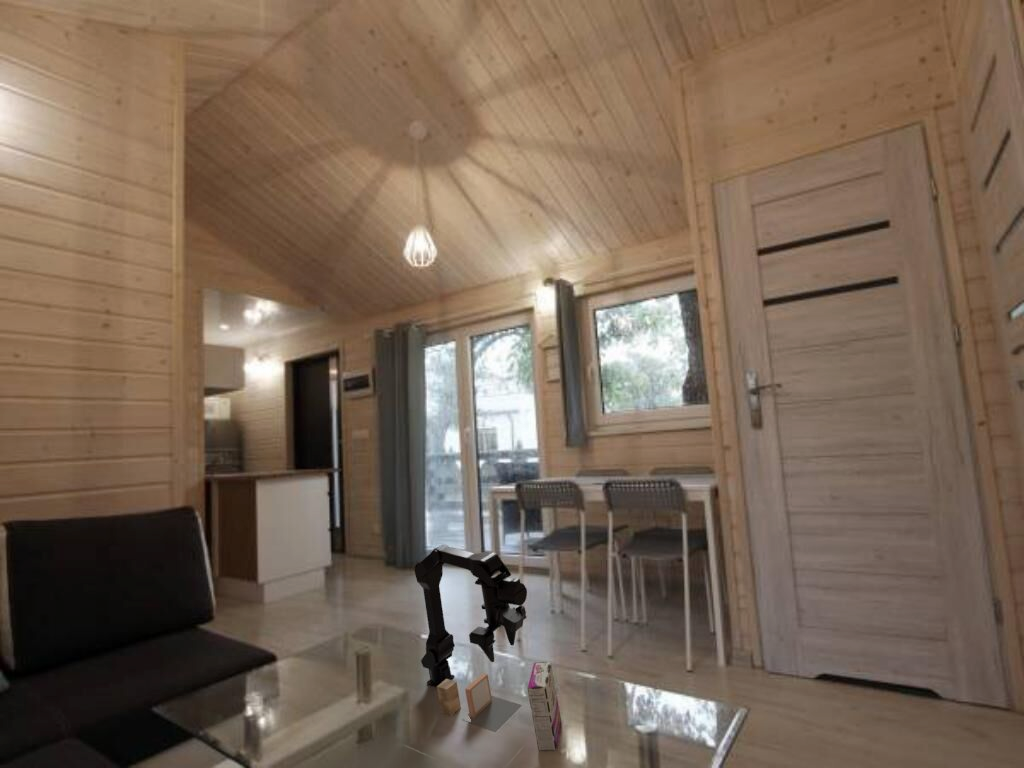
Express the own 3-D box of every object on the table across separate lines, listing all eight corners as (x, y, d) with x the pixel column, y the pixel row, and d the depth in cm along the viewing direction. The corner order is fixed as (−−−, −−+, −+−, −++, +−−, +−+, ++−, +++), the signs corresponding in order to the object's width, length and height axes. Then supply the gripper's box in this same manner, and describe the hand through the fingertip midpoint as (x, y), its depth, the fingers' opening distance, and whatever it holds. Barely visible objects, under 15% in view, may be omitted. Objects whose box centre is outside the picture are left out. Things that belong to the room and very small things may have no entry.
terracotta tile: (469, 716, 153) (465, 688, 153) (487, 699, 159) (483, 673, 159) (474, 718, 152) (469, 690, 152) (492, 701, 158) (487, 674, 158)
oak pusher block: (441, 713, 157) (436, 686, 157) (451, 705, 160) (446, 678, 160) (451, 717, 155) (446, 689, 154) (461, 708, 158) (456, 681, 157)
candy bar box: (543, 721, 146) (533, 661, 146) (561, 721, 145) (551, 660, 145) (537, 751, 135) (526, 687, 135) (557, 751, 134) (546, 686, 134)
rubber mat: (462, 720, 152) (461, 719, 152) (489, 695, 162) (489, 694, 162) (495, 732, 145) (495, 731, 145) (521, 706, 154) (521, 704, 154)
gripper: (495, 619, 143) (504, 677, 144) (535, 589, 158) (544, 641, 159) (463, 613, 150) (473, 668, 151) (505, 584, 165) (513, 635, 165)
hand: (502, 653), depth 156 cm, fingers open, 9 cm apart
